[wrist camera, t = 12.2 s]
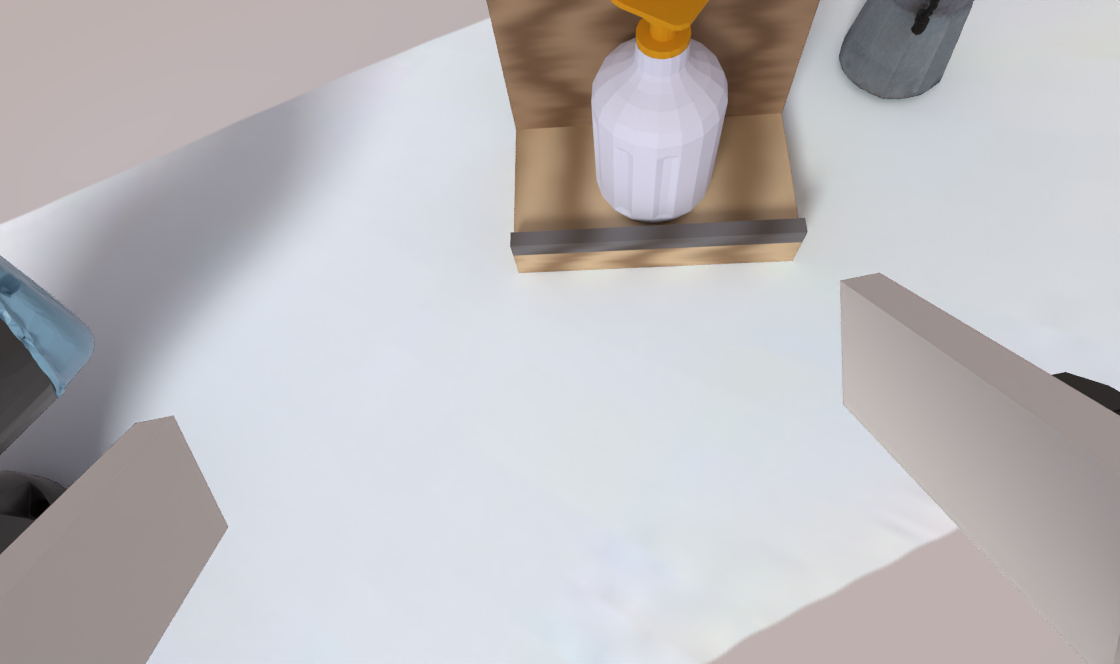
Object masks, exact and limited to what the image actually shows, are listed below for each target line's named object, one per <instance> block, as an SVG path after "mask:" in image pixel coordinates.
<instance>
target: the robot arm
mask: <svg viewBox="0 0 1120 664" xmlns="http://www.w3.org/2000/svg"><path fill="white" fill-rule="evenodd" d="M840 299H841V344H842V388H843V405H844V406H845V407H846V408H847V409H848V410H849V411H850V412H851V413H852V415H853V416H854V417H855V418H856V419H857V420H858V421H859V422H860V423H861V424H862V425H863V426H864V427H865V428H866V429H867V430H868V432H869V433H870V434H871V435H872V436H873V437H874V438H875V439H876V440H877V441H878V442H879V443H880V444H881V445H882V446H883V447H884V449H885V450H886V451H887V452H888V453H889V454H890V455H891V456H892V457H893V458H894V459H895V460H896V461H897V462H898V463H899V464H900V466H901V467H902V468H903V469H904V470H905V471H906V472H907V473H908V474H909V475H910V476H911V477H912V478H913V479H914V480H915V481H916V483H917V484H918V485H919V486H920V487H921V488H922V489H923V490H924V491H925V492H926V493H927V494H928V495H929V496H930V497H931V498H932V500H933V501H934V502H935V503H936V504H937V505H938V506H939V507H940V508H941V509H942V510H943V511H944V512H945V513H946V514H947V515H948V517H949V518H950V519H951V520H952V521H953V522H954V523H955V524H956V525H957V526H958V527H959V528H960V529H961V530H962V531H963V532H964V534H965V535H966V536H967V537H968V538H969V539H970V540H971V541H972V542H973V543H974V544H975V545H976V546H977V547H978V548H979V549H980V551H981V552H982V553H983V554H984V555H985V556H986V557H987V558H988V559H989V560H990V561H991V562H992V563H993V564H994V565H995V566H996V568H997V569H998V570H999V571H1000V572H1001V573H1002V574H1003V575H1004V576H1005V577H1006V578H1007V579H1008V580H1009V581H1010V582H1011V584H1013V586H1014V587H1015V588H1016V589H1017V590H1018V591H1019V592H1020V593H1021V594H1022V595H1023V596H1024V597H1025V598H1026V599H1027V600H1028V602H1029V603H1030V604H1031V605H1032V606H1033V607H1034V608H1035V609H1036V610H1037V611H1038V612H1039V613H1040V614H1041V615H1042V616H1043V618H1045V620H1046V621H1047V622H1049V624H1050V625H1051V626H1052V627H1053V628H1054V629H1055V630H1056V631H1057V632H1058V633H1059V635H1060V636H1061V637H1062V638H1063V639H1064V640H1065V641H1066V642H1067V643H1068V644H1069V645H1070V646H1071V647H1072V648H1073V649H1074V650H1075V651H1076V653H1077V654H1078V655H1079V656H1080V657H1081V658H1082V659H1083V660H1084V661H1085V662H1086V663H1087V664H1120V392H1119V391H1117V390H1115V389H1114V388H1112V387H1110V386H1108V385H1105V384H1102V383H1099V382H1095V381H1092V380H1089V379H1086V378H1083V377H1079V376H1076V375H1073V374H1070V373H1067V372H1064V373H1059V374H1054V375H1050V374H1049V373H1047V372H1045V371H1044V370H1042V369H1040V368H1039V367H1037V366H1035V365H1034V364H1032V363H1030V362H1029V361H1027V360H1025V359H1023V358H1022V357H1020V356H1018V355H1017V354H1015V353H1013V352H1012V351H1010V350H1008V349H1007V348H1005V347H1003V346H1002V345H1000V344H998V343H997V342H995V341H993V340H992V339H990V338H988V337H987V336H985V335H983V334H982V333H980V332H978V331H977V330H975V329H973V328H971V327H970V326H968V325H966V324H965V323H963V322H961V321H960V320H958V319H956V318H955V317H953V316H951V315H950V314H948V313H946V312H945V311H943V310H941V309H940V308H938V307H936V306H935V305H933V304H931V303H930V302H928V301H926V300H925V299H923V298H921V297H919V296H918V295H916V294H914V293H913V292H911V291H909V290H908V289H906V288H904V287H903V286H901V285H899V284H898V283H896V282H894V281H893V280H891V279H889V278H888V277H886V276H884V275H883V274H881V273H876V274H871V275H866V276H861V277H856V278H851V279H846V280H841V281H840ZM93 350H94V338H93V335H92V333H91V331H90V330H89V328H88V327H87V326H86V325H85V324H84V323H83V322H82V321H81V320H80V319H79V318H78V317H77V316H75V315H74V314H73V313H72V312H71V311H70V310H68V309H67V308H66V307H65V306H64V305H62V304H61V303H60V302H59V301H58V300H56V299H55V298H54V297H53V296H51V295H50V294H49V293H48V292H47V291H45V290H44V289H43V288H42V287H40V286H39V285H38V284H36V283H35V282H34V281H33V280H31V279H30V278H29V277H28V276H26V275H25V274H24V273H23V272H21V271H20V270H19V269H17V268H16V267H15V266H14V265H12V264H11V263H10V262H8V261H7V260H6V259H4V258H3V257H2V256H0V455H1V454H2V453H3V452H4V451H5V450H6V449H7V448H8V447H9V446H10V445H11V444H12V443H13V442H14V441H15V440H16V439H17V438H18V437H19V436H20V435H21V434H22V433H23V432H24V431H25V430H26V429H27V428H28V427H29V426H30V425H31V424H32V423H33V422H34V421H35V420H36V419H37V418H38V417H39V416H40V415H41V414H42V413H43V412H44V411H45V410H46V409H47V408H48V407H49V406H50V405H51V404H52V403H53V402H54V401H55V400H56V399H57V398H60V397H61V396H62V395H63V394H64V392H65V387H66V386H67V385H68V383H69V382H70V381H71V380H72V379H73V378H74V377H75V375H76V374H77V373H78V372H79V371H80V370H81V368H82V367H83V366H84V365H85V364H86V363H87V361H88V360H89V359H90V357H91V356H92V354H93ZM227 528H228V525H227V523H226V521H225V519H224V517H223V515H222V513H221V511H220V509H219V507H218V505H217V503H216V501H215V499H214V497H213V495H212V493H211V491H210V489H209V487H208V485H207V483H206V481H205V479H204V477H203V474H202V472H201V470H200V468H199V466H198V464H197V462H196V460H195V458H194V456H193V454H192V452H191V450H190V448H189V446H188V444H187V442H186V440H185V438H184V436H183V434H182V432H181V430H180V428H179V426H178V424H177V422H176V420H175V418H174V416H169V417H164V418H159V419H154V420H149V421H144V422H139V423H135V424H134V425H133V426H132V427H131V428H130V429H129V430H128V431H127V432H126V433H125V434H124V435H123V436H122V437H121V438H120V439H119V440H118V441H117V442H116V443H114V444H113V445H112V446H111V447H110V448H109V449H108V450H107V451H106V452H105V453H104V454H103V455H102V456H101V457H100V458H99V459H98V460H97V461H96V462H95V463H94V464H93V465H92V466H91V467H90V468H89V469H88V470H87V471H86V472H85V473H84V474H83V475H82V476H81V477H80V478H79V479H78V480H76V481H75V482H74V483H73V484H72V485H71V486H70V487H69V488H68V489H67V490H65V489H64V488H63V487H62V486H60V485H58V484H57V483H55V482H53V481H51V480H49V479H46V478H43V477H39V476H34V475H29V474H24V473H18V472H13V471H0V664H146V662H147V660H148V659H149V657H150V656H151V654H152V652H153V651H154V649H155V647H156V646H157V644H158V642H159V641H160V639H161V637H162V636H163V634H164V632H165V631H166V629H167V627H168V626H169V624H170V622H171V621H172V619H173V617H174V616H175V614H176V613H177V611H178V609H179V608H180V606H181V604H182V603H183V601H184V599H185V598H186V596H187V594H188V593H189V591H190V589H191V588H192V586H193V584H194V583H195V581H196V579H197V578H198V576H199V575H200V573H201V571H202V570H203V568H204V566H205V565H206V563H207V561H208V560H209V558H210V556H211V555H212V553H213V551H214V550H215V548H216V546H217V545H218V543H219V541H220V540H221V538H222V536H223V535H224V533H225V532H226V530H227Z"/></svg>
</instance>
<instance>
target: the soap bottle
mask: <svg viewBox="0 0 1120 664" xmlns="http://www.w3.org/2000/svg"><path fill="white" fill-rule="evenodd" d="M708 1H709V0H611V2H612V3H613V4H615V5H616V6H618V7H619V8H621V9H623V10H626V11H628V12H630V13H633V14H635V15H637V16H640V17H642V19H641V20H640V21H639V23H638V25H637V28H636V37H635V38H633V39H631V40H628V41H626V42H624V43H622V44H620V45H619V46H618V47H617V48H615V49H614V50H613V51H612V52H611V53H610V54H609V55H608V56H607V57H606V58H605V60H604V61H603V63H602V65H601V67H600V69H599V71H598V73H597V75H596V77H595V79H594V81H593V84H592V99H591V105H592V120H593V136H594V151H595V166H596V181H597V183H598V186H599V189H600V192H601V194H602V197H603V198H604V199H605V200H606V201H607V202H608V203H609V204H610V206H611V207H612V208H613V209H614V210H615V211H617V212H618V213H620V214H622V215H624V216H626V217H628V218H630V219H632V220H636V221H642V222H648V223H656V222H664V221H671V220H674V219H676V218H678V217H680V216H682V215H684V214H686V213H688V212H690V211H691V210H692V209H693V208H694V207H695V206H696V205H697V204H698V203H699V202H700V201H701V200H702V199H703V198H704V196H705V194H706V191H707V189H708V187H709V184H710V182H711V178H712V173H713V168H714V164H715V159H716V154H717V150H718V145H719V140H720V136H721V131H722V126H723V122H724V117H725V112H726V108H727V103H728V87H727V80H726V77H725V74H724V71H723V69H722V67H721V65H720V63H719V61H718V59H717V57H716V56H715V55H714V54H713V53H712V52H711V51H710V50H709V49H708V48H706V47H705V46H704V45H703V44H702V43H700V42H698V41H695V40H693V39H691V24H692V22H693V21H694V20H695V18H696V17H697V16H698V14H699V13H700V12H701V11H702V9H703V8H704V7H705V5H706V4H707V3H708Z"/></svg>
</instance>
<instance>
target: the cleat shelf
mask: <svg viewBox="0 0 1120 664" xmlns="http://www.w3.org/2000/svg"><path fill="white" fill-rule="evenodd" d="M486 1H487V5H488V9H489V14H490V18H491V22H492V27H493V31H494V35H495V40H496V44H497V48H498V53H499V57H500V62H501V66H502V70H503V75H504V79H505V83H506V88H507V92H508V96H509V101H510V105H511V109H512V114H513V118H514V122H515V127H516V163H515V208H514V232H513V233H511V242H510V247H511V250H512V253H513V256H514V259H515V262H516V265H517V268H518V271H519V273H526V272H549V271H571V270H593V269H616V268H638V267H660V266H683V265H705V264H727V263H750V262H772V261H793V259H794V257H795V255H796V253H797V251H798V249H799V247H800V245H801V243H802V242H803V240H804V238H805V236H806V234H807V227H806V221H805V218H798V213H797V207H796V200H795V194H794V188H793V181H792V175H791V169H790V162H789V156H788V150H787V144H786V137H785V131H784V125H783V118H782V111H783V108H784V105H785V102H786V99H787V96H788V93H789V90H790V87H791V84H792V81H793V78H794V75H795V72H796V69H797V66H798V63H799V60H800V57H801V54H802V51H803V48H804V46H805V43H806V40H807V37H808V34H809V31H810V28H811V25H812V22H813V19H814V16H815V13H816V10H817V7H818V4H819V1H820V0H709V1H708V3H707V4H706V5H705V7H704V8H703V9H702V11H701V12H700V13H699V14H698V16H697V17H696V18H695V20H694V21H693V22H692V24H691V39H693V40H695V41H698V42H700V43H702V44H703V45H704V46H705V47H706V48H708V49H709V50H710V51H711V52H712V53H713V54H714V55H715V56H716V57H717V59H718V61H719V63H720V65H721V67H722V69H723V71H724V74H725V77H726V80H727V87H728V103H727V108H726V112H725V117H724V122H723V126H722V131H721V136H720V140H719V145H718V150H717V154H716V159H715V164H714V168H713V173H712V178H711V182H710V184H709V187H708V189H707V191H706V194H705V196H704V198H703V199H702V200H701V201H700V202H699V203H698V204H697V205H696V206H695V207H694V208H693V209H692V210H691V211H690V212H688V213H686V214H684V215H682V216H680V217H678V218H676V219H674V220H671V221H664V222H656V223H648V222H642V221H636V220H632V219H630V218H628V217H626V216H624V215H622V214H620V213H618V212H617V211H615V210H614V209H613V208H612V207H611V206H610V204H609V203H608V202H607V201H606V200H605V199H604V198H603V197H602V194H601V192H600V189H599V186H598V183H597V181H596V166H595V151H594V136H593V120H592V105H591V99H592V84H593V81H594V79H595V77H596V75H597V73H598V71H599V69H600V67H601V65H602V63H603V61H604V60H605V58H606V57H607V56H608V55H609V54H610V53H611V52H612V51H613V50H614V49H615V48H617V47H618V46H619V45H620V44H622V43H624V42H626V41H628V40H631V39H633V38H635V37H636V28H637V25H638V23H639V21H640V20H641V19H642V17H640V16H637V15H635V14H633V13H630V12H628V11H626V10H623V9H621V8H619V7H618V6H616V5H615V4H613V3H612V2H611V0H486Z"/></svg>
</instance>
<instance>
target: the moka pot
mask: <svg viewBox="0 0 1120 664" xmlns="http://www.w3.org/2000/svg"><path fill="white" fill-rule="evenodd" d="M973 1H974V0H867V2H866V3H865V5H864V7H863V8H862V10H861V11H860V13H859V15H858V16H857V18H856V20H855V21H854V23H853V25H852V26H851V28H850V29H849V31H848V33H847V35H846V36H845V39H844V41H843V44H842V47H841V51H840V54H839V60H840V63H841V66H842V69H843V71H844V73H845V74H846V75H847V77H848V78H849V79H850V80H851V81H852V82H853V83H854V84H856V85H857V86H858V87H859V88H861V89H863V90H865V91H867V92H869V93H871V94H873V95H876V96H878V97H879V98H883V99H884V98H887V99H901V98H909V97H913V96H918V95H921V94H923V93H924V92H926V91H927V90H929V89H931V88H932V87H933V86H935V85H936V84H938V83H939V82H940V80H941V78H942V76H943V74H944V71H945V69H946V66H947V64H948V62H949V60H950V57H951V55H952V53H953V50H954V48H955V45H956V43H957V41H958V39H959V36H960V34H961V31H962V29H963V26H964V24H965V21H966V19H967V17H968V15H969V12H970V10H971V8H972V4H973Z"/></svg>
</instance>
